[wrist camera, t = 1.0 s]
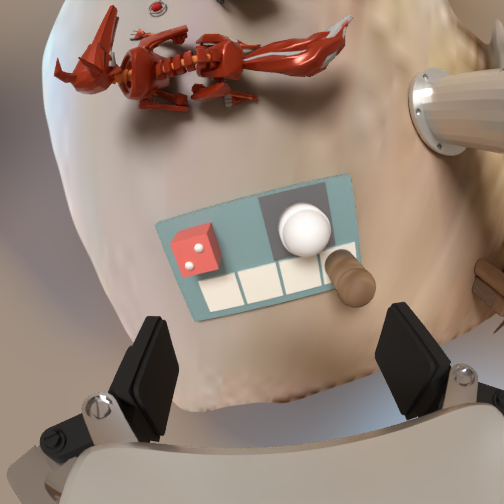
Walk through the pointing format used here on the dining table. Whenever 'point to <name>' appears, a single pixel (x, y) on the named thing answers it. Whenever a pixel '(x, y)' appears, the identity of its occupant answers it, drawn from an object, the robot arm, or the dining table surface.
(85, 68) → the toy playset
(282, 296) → the board
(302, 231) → the dome
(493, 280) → the wooden toy
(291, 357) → the dining table surface
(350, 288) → the brown rounded capsule
